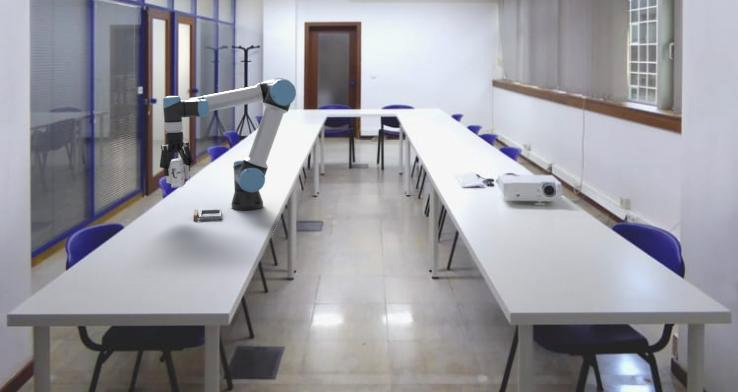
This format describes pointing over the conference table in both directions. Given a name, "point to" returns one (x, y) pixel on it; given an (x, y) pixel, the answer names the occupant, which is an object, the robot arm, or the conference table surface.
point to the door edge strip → (195, 215)
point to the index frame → (210, 215)
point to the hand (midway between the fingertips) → (178, 181)
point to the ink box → (177, 172)
